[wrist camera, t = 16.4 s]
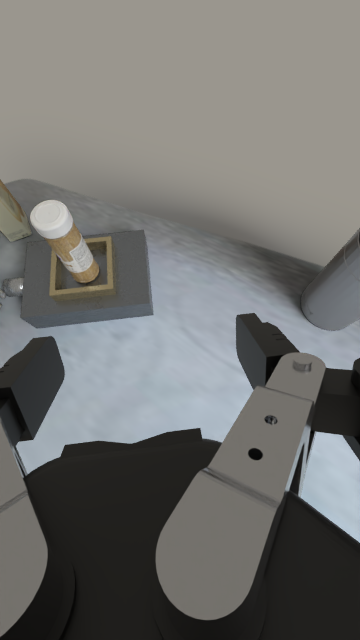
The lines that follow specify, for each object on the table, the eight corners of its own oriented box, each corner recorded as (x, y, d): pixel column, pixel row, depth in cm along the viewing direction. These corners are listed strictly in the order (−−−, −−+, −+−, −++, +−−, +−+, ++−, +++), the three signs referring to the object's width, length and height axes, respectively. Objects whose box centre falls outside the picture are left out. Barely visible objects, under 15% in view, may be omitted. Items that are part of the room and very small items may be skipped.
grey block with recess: (147, 246, 53) (141, 221, 46) (153, 315, 48) (148, 297, 41) (20, 260, 52) (-4, 237, 46) (13, 331, 47) (-15, 316, 41)
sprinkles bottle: (66, 274, 45) (20, 216, 33) (86, 255, 47) (48, 192, 34) (86, 289, 44) (46, 235, 32) (106, 269, 46) (75, 209, 33)
